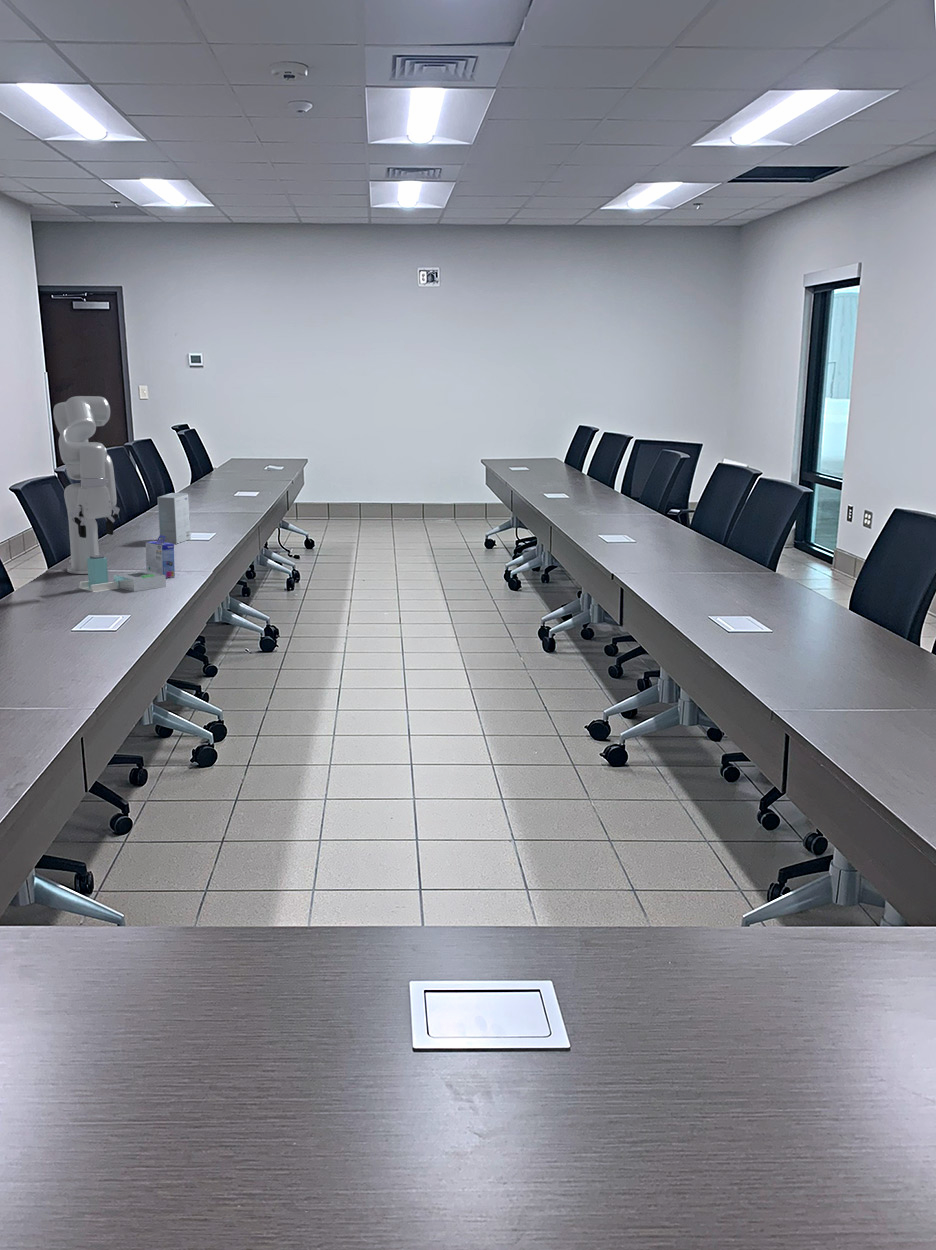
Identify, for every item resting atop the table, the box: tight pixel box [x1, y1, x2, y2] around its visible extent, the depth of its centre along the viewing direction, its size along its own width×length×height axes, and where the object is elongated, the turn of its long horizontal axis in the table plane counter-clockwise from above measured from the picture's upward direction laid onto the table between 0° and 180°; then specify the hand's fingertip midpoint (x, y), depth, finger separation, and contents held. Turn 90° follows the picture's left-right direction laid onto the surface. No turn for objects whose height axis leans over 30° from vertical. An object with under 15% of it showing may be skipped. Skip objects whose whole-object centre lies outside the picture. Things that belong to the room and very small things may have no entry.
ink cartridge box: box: [145, 534, 176, 579], centre depth 371 cm, size 10×6×14 cm, turn 53°
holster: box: [78, 580, 120, 593], centre depth 346 cm, size 10×9×3 cm
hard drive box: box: [157, 492, 192, 545], centre depth 447 cm, size 16×8×20 cm, turn 172°
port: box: [113, 569, 167, 592], centre depth 350 cm, size 12×12×6 cm
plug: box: [87, 554, 109, 588], centre depth 345 cm, size 4×4×11 cm
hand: (96, 535), depth 342 cm, fingers open, 9 cm apart
